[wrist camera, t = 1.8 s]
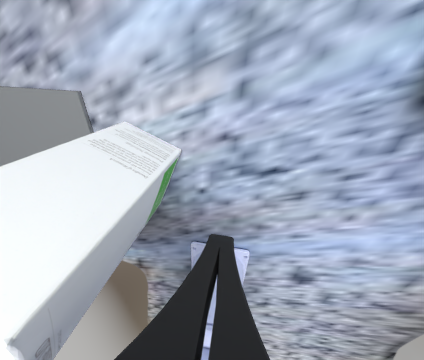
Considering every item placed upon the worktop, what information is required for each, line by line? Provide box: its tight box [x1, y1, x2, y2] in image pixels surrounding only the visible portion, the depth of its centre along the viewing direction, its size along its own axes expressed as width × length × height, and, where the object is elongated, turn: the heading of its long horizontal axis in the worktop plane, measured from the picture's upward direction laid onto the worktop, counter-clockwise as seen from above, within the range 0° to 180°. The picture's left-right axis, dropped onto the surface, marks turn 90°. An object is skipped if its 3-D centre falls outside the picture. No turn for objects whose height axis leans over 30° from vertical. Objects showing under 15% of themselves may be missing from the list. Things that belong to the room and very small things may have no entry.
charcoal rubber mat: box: [0, 86, 94, 167], centre depth 21 cm, size 14×18×1 cm
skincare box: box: [0, 121, 181, 360], centre depth 13 cm, size 8×7×16 cm
